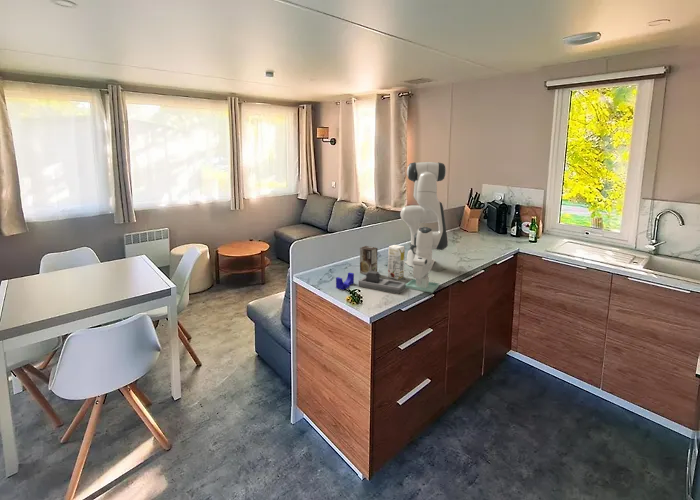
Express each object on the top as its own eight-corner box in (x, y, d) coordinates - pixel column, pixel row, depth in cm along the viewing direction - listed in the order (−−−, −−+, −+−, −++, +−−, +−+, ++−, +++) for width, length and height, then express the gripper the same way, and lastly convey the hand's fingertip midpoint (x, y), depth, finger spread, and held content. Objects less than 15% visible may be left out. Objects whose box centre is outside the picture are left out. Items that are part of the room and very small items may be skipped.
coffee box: (377, 273, 235) (378, 247, 231) (371, 276, 230) (371, 249, 226) (365, 270, 241) (366, 245, 237) (359, 273, 236) (359, 247, 232)
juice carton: (397, 280, 222) (398, 248, 218) (386, 277, 228) (386, 246, 223) (405, 277, 228) (406, 246, 223) (393, 274, 233) (394, 243, 229)
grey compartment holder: (366, 281, 221) (366, 268, 219) (405, 288, 210) (406, 274, 208) (358, 286, 213) (358, 272, 211) (398, 293, 202) (399, 279, 200)
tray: (412, 281, 221) (412, 279, 220) (438, 286, 213) (439, 283, 213) (404, 287, 211) (404, 285, 211) (432, 292, 204) (432, 290, 203)
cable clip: (342, 290, 208) (342, 279, 206) (336, 288, 211) (336, 277, 209) (355, 284, 217) (355, 273, 216) (349, 282, 220) (349, 272, 218)
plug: (418, 284, 215) (418, 274, 214) (428, 286, 213) (429, 276, 211) (415, 286, 212) (415, 276, 210) (425, 288, 209) (426, 278, 207)
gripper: (424, 252, 218) (423, 276, 221) (411, 261, 201) (410, 286, 204) (435, 254, 215) (433, 277, 218) (423, 263, 198) (421, 288, 201)
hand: (422, 282), depth 211 cm, fingers open, 8 cm apart
